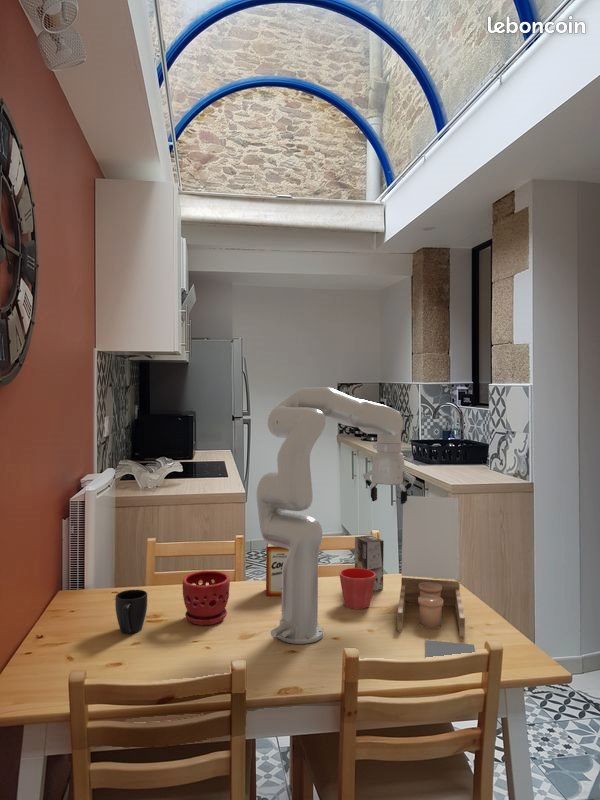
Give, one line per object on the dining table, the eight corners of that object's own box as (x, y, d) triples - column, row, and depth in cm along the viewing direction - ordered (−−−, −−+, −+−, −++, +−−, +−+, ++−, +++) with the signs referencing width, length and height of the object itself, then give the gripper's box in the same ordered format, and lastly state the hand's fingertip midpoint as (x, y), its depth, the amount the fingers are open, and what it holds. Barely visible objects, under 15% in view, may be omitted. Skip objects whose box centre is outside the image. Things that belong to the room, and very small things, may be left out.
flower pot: (377, 611, 170) (377, 578, 170) (340, 610, 170) (340, 577, 170) (373, 599, 181) (373, 568, 181) (338, 598, 181) (338, 567, 181)
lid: (458, 498, 184) (458, 498, 186) (403, 495, 188) (403, 496, 190) (459, 579, 177) (458, 579, 178) (401, 575, 180) (401, 575, 182)
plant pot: (176, 615, 165) (177, 573, 165) (220, 608, 171) (220, 568, 171) (189, 632, 154) (190, 587, 154) (236, 623, 160) (236, 580, 160)
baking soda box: (295, 589, 189) (296, 540, 189) (295, 596, 183) (296, 545, 183) (266, 589, 189) (267, 540, 189) (265, 596, 183) (266, 545, 183)
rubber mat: (478, 667, 135) (478, 665, 135) (425, 661, 137) (425, 660, 137) (473, 646, 146) (473, 644, 146) (425, 641, 149) (425, 640, 149)
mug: (107, 642, 147) (107, 604, 147) (119, 624, 159) (120, 589, 159) (139, 642, 147) (140, 604, 147) (150, 623, 159) (150, 589, 159)
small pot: (436, 631, 156) (437, 605, 156) (413, 625, 160) (414, 599, 160) (446, 623, 161) (447, 598, 161) (424, 618, 165) (424, 593, 165)
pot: (435, 614, 168) (436, 590, 168) (414, 609, 172) (414, 585, 172) (445, 608, 173) (445, 584, 173) (424, 603, 177) (424, 580, 177)
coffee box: (384, 589, 190) (384, 540, 190) (366, 592, 187) (367, 542, 187) (370, 581, 198) (371, 534, 198) (353, 583, 196) (354, 536, 196)
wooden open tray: (464, 637, 152) (464, 610, 152) (397, 631, 155) (397, 605, 155) (459, 604, 176) (459, 581, 176) (401, 599, 180) (401, 577, 180)
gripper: (359, 448, 186) (359, 501, 186) (411, 450, 178) (411, 506, 178) (367, 446, 193) (367, 498, 193) (418, 449, 185) (418, 502, 185)
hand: (388, 501), depth 185 cm, fingers open, 9 cm apart
